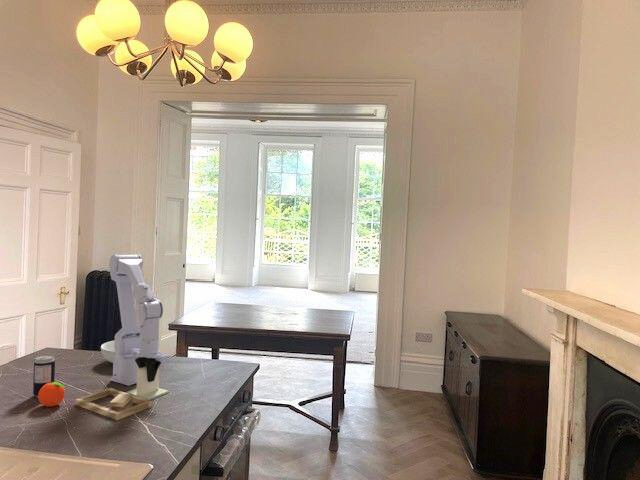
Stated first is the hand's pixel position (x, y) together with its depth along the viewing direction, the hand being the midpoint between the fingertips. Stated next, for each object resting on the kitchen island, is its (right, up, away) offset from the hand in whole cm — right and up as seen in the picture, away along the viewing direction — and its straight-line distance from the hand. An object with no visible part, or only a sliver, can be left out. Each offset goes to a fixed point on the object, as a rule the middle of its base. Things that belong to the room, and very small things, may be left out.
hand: (148, 380), depth 150 cm
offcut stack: (-3, -5, -13) cm, 14 cm away
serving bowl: (-19, -3, +32) cm, 37 cm away
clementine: (-23, -4, -13) cm, 27 cm away
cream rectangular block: (0, -4, 0) cm, 4 cm away
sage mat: (0, -4, 0) cm, 4 cm away
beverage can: (-31, -3, -5) cm, 31 cm away
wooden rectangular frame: (-6, -4, -11) cm, 13 cm away
